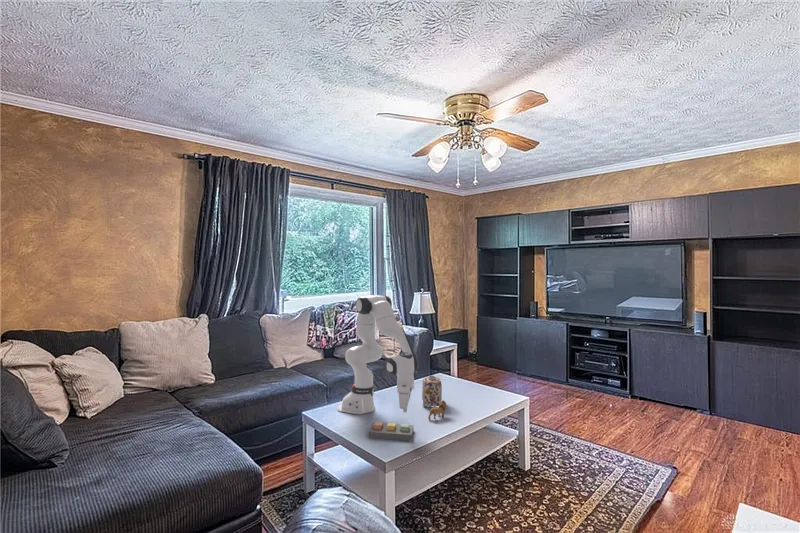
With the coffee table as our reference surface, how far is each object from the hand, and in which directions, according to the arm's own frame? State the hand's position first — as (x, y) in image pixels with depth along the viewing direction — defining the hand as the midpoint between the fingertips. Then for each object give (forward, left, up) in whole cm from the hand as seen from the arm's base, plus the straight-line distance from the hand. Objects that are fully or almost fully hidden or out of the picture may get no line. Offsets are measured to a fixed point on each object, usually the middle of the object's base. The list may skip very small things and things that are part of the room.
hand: (405, 411), depth 203 cm
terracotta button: (-14, 0, -11) cm, 18 cm away
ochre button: (-7, 0, -11) cm, 13 cm away
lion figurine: (+16, +26, -13) cm, 33 cm away
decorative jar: (+12, +48, -13) cm, 51 cm away
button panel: (-7, 0, -12) cm, 14 cm away
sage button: (0, 0, -11) cm, 11 cm away
